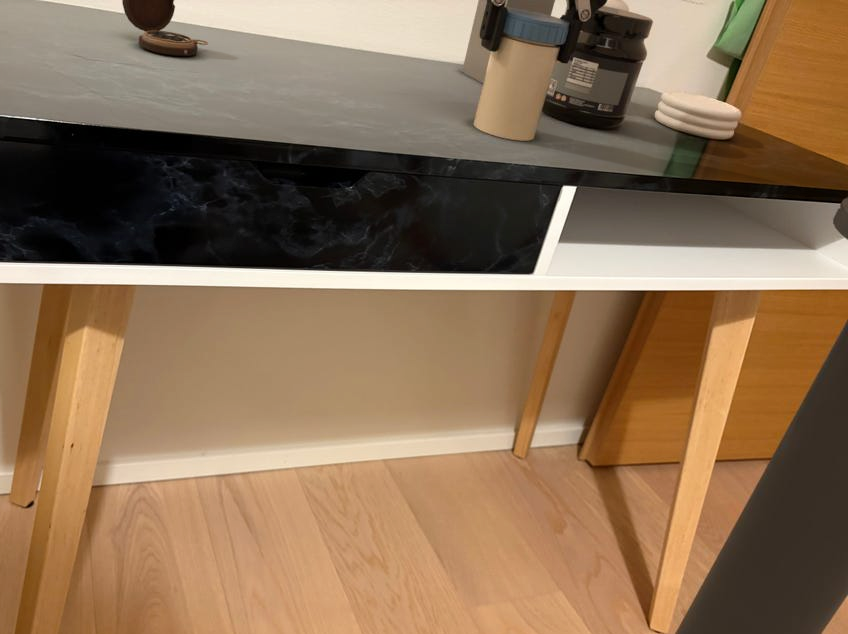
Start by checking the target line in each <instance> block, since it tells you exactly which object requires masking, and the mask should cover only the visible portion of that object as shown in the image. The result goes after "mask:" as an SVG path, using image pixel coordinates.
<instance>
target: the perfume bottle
mask: <svg viewBox="0 0 848 634" xmlns="http://www.w3.org/2000/svg"><path fill="white" fill-rule="evenodd" d="M555 2H556V0H506V2H505V6H504V7H511V8H518V9H523V10H528V11H533V12H538V13H542V14H546V15H550V16H552V13H553V9H554V7H555ZM486 4H487V1H486V0H478V1H477V5H476V10H475V14H474V19H473V23H472V26H471V27H472V28H471V31H470V36H469V40H468V44H467V49H466V52H465V58H464V61H463V66H462V69H461V73H462V74H464V75H466V76H468V77H470V78H472V79H473V80H475V81H477V82H479V83H481V84H483V83H484V79H485V75H486V70H487V66H488V62H489V58H490V54H491V51H489V50H487V49H486V48H484V47H483V46H481V41H482V39H481V38H480V29H481V24H482V20H483V16H484V12H485V8H486Z"/></svg>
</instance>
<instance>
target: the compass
mask: <svg viewBox="0 0 848 634" xmlns="http://www.w3.org/2000/svg"><path fill="white" fill-rule="evenodd" d="M121 1H122V2H121V3H122V7H123V11H124V14H125V16H126V17H127V20H128V21H129V22H130V24H132V25H133V26H134V28H137V29H139V30H140V31H143V32H144V33H142V34H141V35H140V36H138V45H139V46H140V47H141V48H143V49H144V50H147V51H150V52H153V53H158V54H163V55H168V56H176V57H178V56H179V57H190V56H194V55H196V54H197V53H198V48H199V47H198V45H202V46H206V45H208V44H209V42H208V41H206V40H202V39H194V38H193V39H192V38H191V37H189V36H188V35H185V34H181V33H177V32H173V31H166V30H164V29H165V28H166V27H167V26H168V25H169V24H170V22H171V21H172V18H173V17H174V13H175V9H176V5H175V3H174V2H175V0H121Z"/></svg>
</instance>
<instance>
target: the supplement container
mask: <svg viewBox="0 0 848 634" xmlns="http://www.w3.org/2000/svg"><path fill="white" fill-rule="evenodd" d="M565 11H566V10H565ZM566 13H567V11H566ZM653 24H654V20H653V19H652V18H651V17H648V16H646V15H643V14H639V13H637V12H632V11H630V10H629V11H625V10H621V9H617V8H612V7H608V6H602V7H601V8H600V9H598V10H597V11H596V12H594V13H593V14H592V15H591V16H590V18H589V19H588V20H587V21H584V22H583V24H582V28H581V31H580V34H579V38H578V41H577V45H576V48H575V51H574V53H573V54H571V55H570V59H569V62H568V63H567V64H565V63H561V62H559V61H557V60H556V64H555V67H554V71H553V74H552V78H551V81H550V85H549V88H548V92H547V95H546V99H545V102H544V105H543V109H542V112H544V113H545V114H547V115H548V116H550V117H552V118H555V119H557V120H560V121H563V122H566V123H570V124H573V125H576V126H582V127H587V128H592V129H602V130H610V129H614V128H617V127H620V125H622V124H623V123H624V121H625V119H626V116H627V112H628V108H629V105H630V103H631V99H632V96H633V95H634V94H633V93H634V91H635V88H636V85H637V82H638V79H639V76H640V73H641V70H642V67H643V64H644V62H645V61H646V60H647V56H648V50H647V48H646V44H645V40H646V39H648V38H649V36H650V33H651V30H652V27H653Z"/></svg>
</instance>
